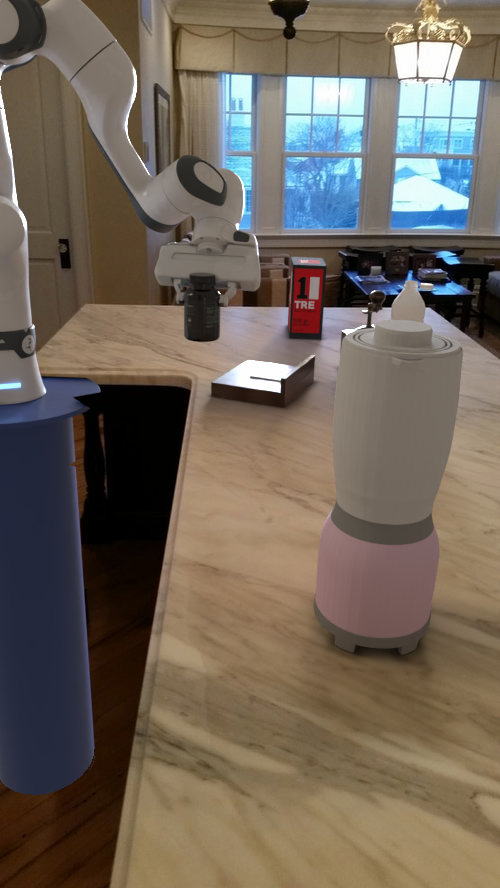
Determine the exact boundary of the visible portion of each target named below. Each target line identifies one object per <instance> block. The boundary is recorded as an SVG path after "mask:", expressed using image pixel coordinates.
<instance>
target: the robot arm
mask: <svg viewBox="0 0 500 888" xmlns="http://www.w3.org/2000/svg"><path fill="white" fill-rule="evenodd" d="M38 56H41V57H44V58H46V59H48V60H49V61H50V62H52V63H53V65H54V66H56V68H57V69H58V70H59V71H60V72H61V74H62V76H64V78H65V79H66V80H67V82H68V83H69V84H70V86H71V87H72V88H73V89H74V91H75V93H76V95H77V96H78V98H79V100H80V103H81V104H82V107H83V109H84V112H85V115H86V124H87V127H88V130H89V133H90V135H91V137H92V138H93V140H94V142H95V144H96V146H97V147H98V149H99V151H100V153H102V156H103V157H104V159H105V161H106V162H107V163H108V165H109V167H110V168H111V171H112V172H113V173H114V175H115V176H116V178H117V179H118V181H119V183H120V185H121V186H122V188H123V189H124V191H125V193H126V194H127V196H128V198H129V201H130V203H131V205H132V207H133V210H134V212H135V214H136V216H137V218H138V220H139V221H140V222H141V223H142V224H143V226H145V227H146V228H148V229H149V230H151V231H153V232H156V233H159V234H167V233H171V232H172V231H173V230H175V228H177V227H178V226H179V225H181V223H183V221H184V220H186V219H188V218H189V217H192V218H193V219H194V225H193V226H194V227H193V231H192V236H191V240H190V242H185V241H184V242H183V241H181V242H176V241H169V242H168V243H166V244H163V245H162V246H161V247H160V249H159V253H158V260H157V261H156V264H155V267H154V277H155V279H156V281H157V283H158V284H159V285H160V286H164V287H174V290H175V293H176V296H175V302H176V305H183V306H184V293H185V291H184V292H183V289H184V288H190V284H189V275H190V274H191V273H212V274H215V282H216V285H214V288H216V289H217V290H226V291H225V293H224V294H220V299H219V306H220V308H228V307H229V302H230V301H231V300H232V299H233V298H234V296H236V295H237V291H246V292H247V291H248V292H256V291H257V290H258V289H259V288H260V287H261V280H262V279H261V277H262V276H261V275H262V273H261V263H260V257H259V256H260V255H259V245H258V241H257V238H256V235H254V234H252V233H248V232H247V231H244V230H241V229H239V226H240V225H241V223H242V219H243V215H244V209H245V200H246V199H245V188H244V183H243V181H242V179H241V177H240V176H239V175H238V173H236V172H234V171H233V170H230V169H229V168H226V167H225V168H224V167H217V168H216V167H215V166H213V165H212V164H211V163H210V162H208V161H207V160H205V159H204V158H202V157H200V156H197V155H194V154H183V155H181V156H180V157H179V158H177V159H175V161H173V162H172V163H170V164H169V165H168V166H167V167H165V169H163V170H162V171H161V172H160V173H158V174H157V175H156V176H152V175H151V173H149V171H148V169H147V168H146V165H145V164H144V162H143V161H142V159H141V157H140V156H139V154H138V153H137V151H136V149H135V148H134V145H133V144H132V142H131V141H130V138H129V134H128V119H129V115H130V111H131V109H132V106H133V104H134V101H135V98H136V93H137V87H138V86H137V85H138V84H137V83H138V82H137V81H138V80H137V73H136V69H135V66H134V64H133V63H132V60H131V59H130V57H129V55H128V54H127V53H126V51H125V50H124V48H123V47H122V46H121V44H120V43H119V42H118V41H117V39H116V37H115V36H114V35H113V33H112V32H111V31H110V30H109V29H108V27H107V26H106V25H105V24H104V22H103V21H102V20H101V19H100V18H99V17H98V16H97V15H96V13H94V12H93V10H92V9H90V8H89V7H88V5H86V3H84V2H83V1H82V0H48V1H47V2H45V3H44V4H43V5H41V4H40V2H39V1H38V0H0V79H1V76H2V74H6V73H8V72H11V71H13V70H16V69H19V68H21V67H24V66H26V65H29V64H30V63H31V62H32V61H35V59H36V58H37V57H38ZM4 108H5V106H4V101H3V96H2V89H1V87H0V405H5V404H16V403H23V402H28V401H32V400H35V399H37V398H40V397H42V396H43V395H44V394H45V393H46V389H45V387H44V384H43V381H42V378H41V376H42V375H41V370H39V369H40V368H39V364H38V359H37V353H36V344H37V339H36V338H37V336H36V328H35V325H34V324H33V320H32V307H31V297H30V296H31V295H30V283H29V281H30V280H29V279H30V272H29V271H30V267H29V265H30V264H29V237H28V224H27V219H26V217H25V215H24V213H23V211H22V210H21V208H20V207H19V205H18V204H19V203H18V198H17V189H16V183H15V171H14V163H13V162H14V161H13V153H12V148H11V141H10V136H9V131H8V124H7V119H6V113H5V112H6V111H5V109H4Z"/></svg>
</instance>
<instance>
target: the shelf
mask: <svg viewBox="0 0 500 888" xmlns="http://www.w3.org/2000/svg"><path fill="white" fill-rule="evenodd" d="M315 364H316V355H315V354H314V355H313V354H311V355H309V356H308V357H307V358H305V359H303V361H301V362H300V363H299V364H298V365H289V364H283V363H274V362H268V361H260V360H253V359H247V360H245V361H243V362H242V363H239V365H236V366H235V367H234V368H232V369H230V370H229V371H227V372H226V373H224V374H222V375H221V376H219V377H217V378H216V379H214V380H212V381H211V383H210V397H215V398H220V399H227V400H233V401H240V402H245V403H252V404H253V403H254V404H259V405H265V406H271V407H278V408H286V407H287V406H288V405H289V404H290V403H291V402H292V401H293V400H295V399H296V398H297V397H298V396H299V395H301V393H302V392H304V391H305V390H306V389H307V388H308V387H309V386H311V384H313V383H314V382H315V380H314V379H315V367H316V365H315Z"/></svg>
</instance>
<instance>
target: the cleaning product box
mask: <svg viewBox="0 0 500 888" xmlns="http://www.w3.org/2000/svg"><path fill="white" fill-rule="evenodd" d="M289 271H290V273H289V289H288V290H289V292H288V293H289V294H288V311H287V312H288V313H287V332H288V338H289V339H293V340H294V339H296V340H322V336H323V322H324V308H325V295H326V279H327V264H326V262H325V261H324V259H323V257H307V256H290V270H289Z"/></svg>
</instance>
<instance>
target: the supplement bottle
mask: <svg viewBox="0 0 500 888" xmlns="http://www.w3.org/2000/svg"><path fill="white" fill-rule="evenodd" d="M189 284H190V287H187V289H186V290H185V291H184V292H185V293H184V305H183V336H184V338H185V339H186V340H188V341H191V342H195V343H210V342H211V343H212V342H216V341H218V340H219V339H220V336H221V307H220V306H219V299H220V295H221V293H220V291H219V289H216V288H214V285H216V282H215V274H212V273H191V274H190V275H189Z"/></svg>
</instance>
